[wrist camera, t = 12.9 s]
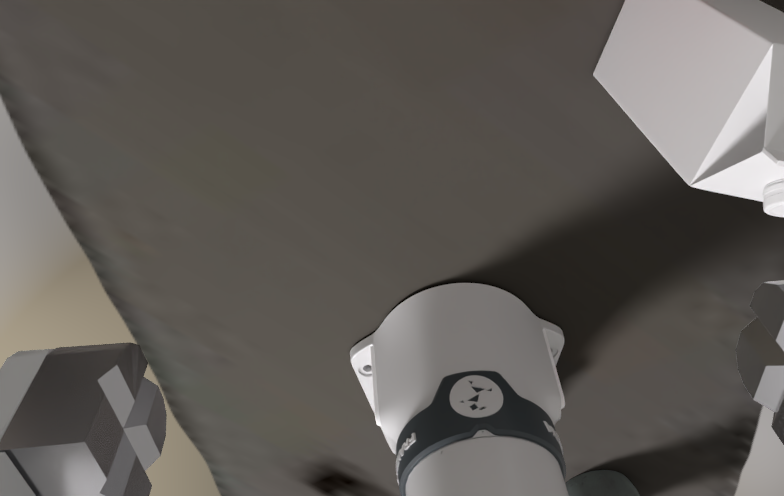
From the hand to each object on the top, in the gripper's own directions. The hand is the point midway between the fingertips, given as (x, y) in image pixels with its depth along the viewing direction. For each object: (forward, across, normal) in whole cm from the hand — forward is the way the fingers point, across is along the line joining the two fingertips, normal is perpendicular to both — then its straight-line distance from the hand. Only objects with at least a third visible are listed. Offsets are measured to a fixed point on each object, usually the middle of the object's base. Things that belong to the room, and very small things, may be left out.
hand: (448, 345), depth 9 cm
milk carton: (+34, -18, +8) cm, 40 cm away
